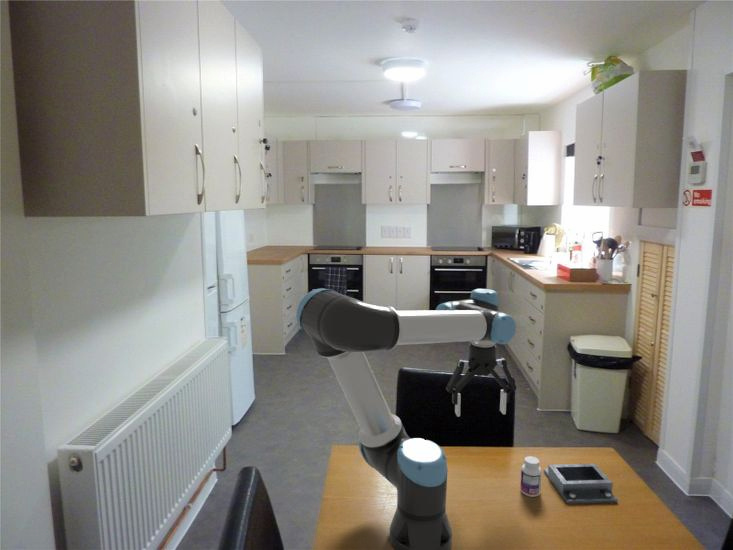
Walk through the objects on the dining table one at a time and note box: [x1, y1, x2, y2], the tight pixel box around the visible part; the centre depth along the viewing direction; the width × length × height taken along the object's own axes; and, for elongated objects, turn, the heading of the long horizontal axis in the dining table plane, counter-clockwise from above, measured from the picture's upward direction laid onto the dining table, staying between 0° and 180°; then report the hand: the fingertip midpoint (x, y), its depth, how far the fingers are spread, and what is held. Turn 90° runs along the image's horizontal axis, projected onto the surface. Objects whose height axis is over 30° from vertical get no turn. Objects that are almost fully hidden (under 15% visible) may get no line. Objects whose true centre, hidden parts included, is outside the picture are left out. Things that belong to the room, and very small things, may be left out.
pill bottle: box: [519, 455, 542, 498], centre depth 140 cm, size 5×5×10 cm
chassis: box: [543, 463, 619, 505], centre depth 144 cm, size 16×14×4 cm
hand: (480, 413), depth 146 cm, fingers open, 13 cm apart
